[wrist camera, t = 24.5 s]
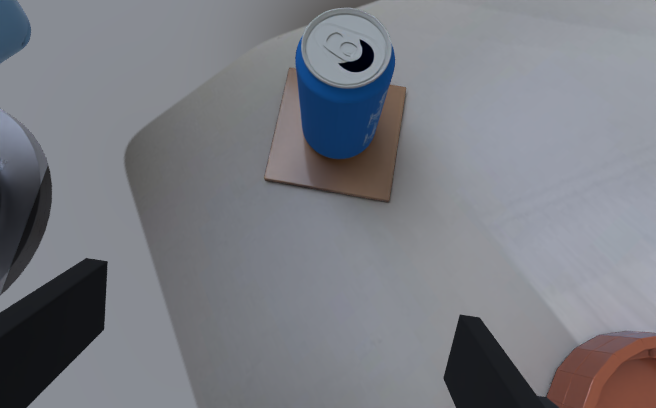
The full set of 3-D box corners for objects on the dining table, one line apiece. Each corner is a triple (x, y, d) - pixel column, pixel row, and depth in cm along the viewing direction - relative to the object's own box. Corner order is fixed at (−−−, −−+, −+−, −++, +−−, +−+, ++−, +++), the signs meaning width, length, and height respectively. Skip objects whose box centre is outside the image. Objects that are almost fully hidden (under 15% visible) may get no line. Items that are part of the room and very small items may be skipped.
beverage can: (345, 176, 37) (356, 113, 25) (287, 133, 37) (272, 53, 26) (389, 122, 38) (419, 39, 26) (332, 82, 39) (337, -16, 27)
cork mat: (264, 180, 37) (263, 178, 36) (289, 70, 40) (289, 67, 39) (388, 202, 37) (389, 200, 36) (405, 90, 39) (406, 87, 39)
